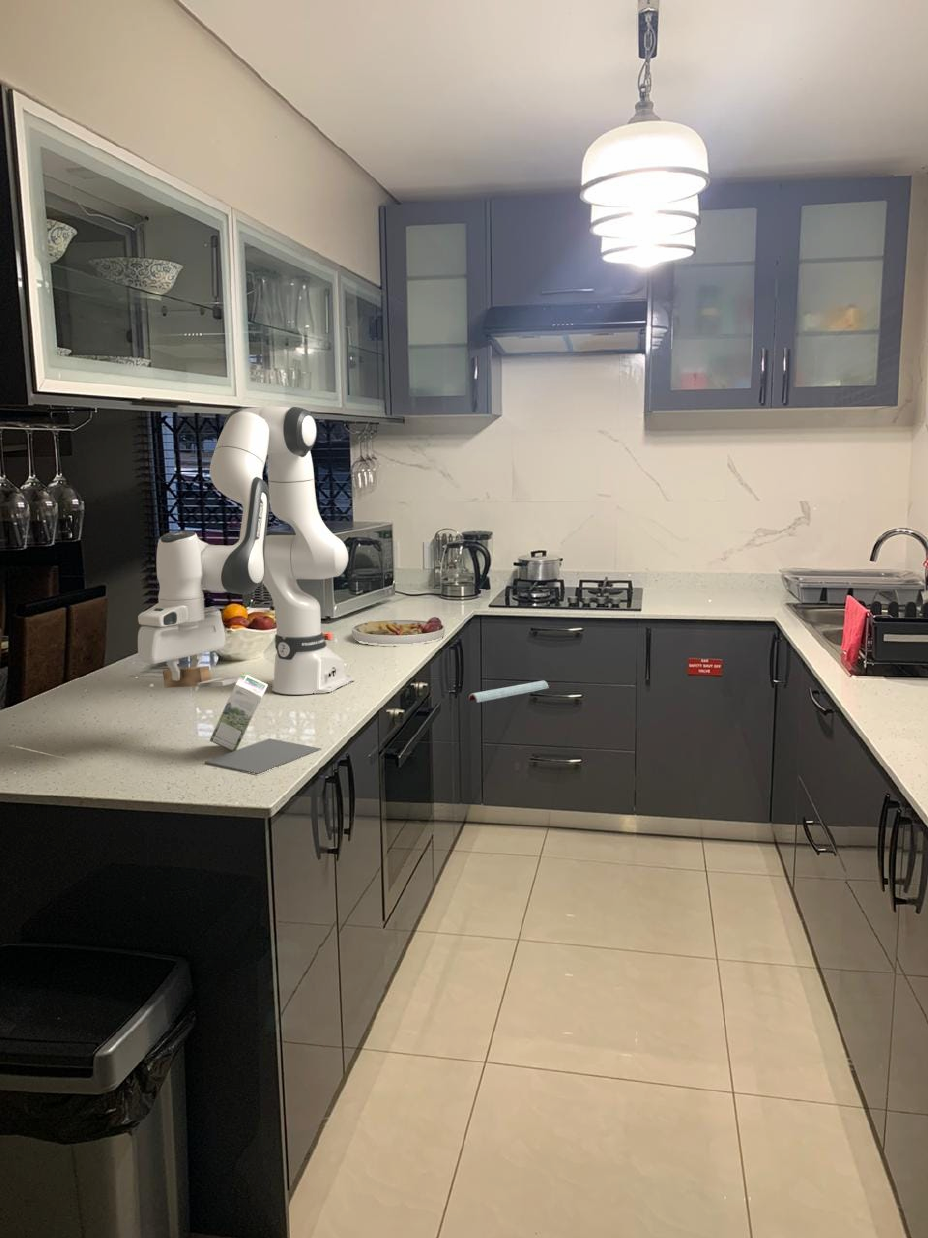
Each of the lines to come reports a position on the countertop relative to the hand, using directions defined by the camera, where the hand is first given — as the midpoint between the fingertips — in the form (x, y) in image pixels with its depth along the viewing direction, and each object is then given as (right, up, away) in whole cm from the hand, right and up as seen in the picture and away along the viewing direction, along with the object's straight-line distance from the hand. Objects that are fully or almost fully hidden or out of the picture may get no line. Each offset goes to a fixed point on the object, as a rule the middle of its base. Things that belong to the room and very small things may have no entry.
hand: (185, 677), depth 196 cm
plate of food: (+36, +4, +112) cm, 118 cm away
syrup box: (+9, -13, -3) cm, 16 cm away
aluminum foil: (+69, -8, +36) cm, 79 cm away
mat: (+18, -15, -9) cm, 25 cm away
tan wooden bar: (+4, -1, -2) cm, 5 cm away
